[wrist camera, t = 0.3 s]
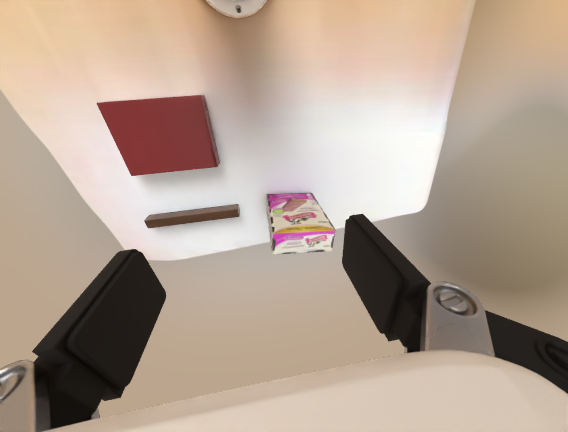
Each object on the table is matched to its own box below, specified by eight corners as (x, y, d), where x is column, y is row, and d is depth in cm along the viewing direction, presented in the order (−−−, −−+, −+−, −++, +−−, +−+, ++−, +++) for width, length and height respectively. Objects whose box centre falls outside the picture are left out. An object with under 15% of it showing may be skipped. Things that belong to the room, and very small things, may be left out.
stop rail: (149, 215, 45) (144, 220, 43) (238, 204, 47) (237, 209, 45) (152, 222, 46) (147, 228, 44) (239, 211, 48) (239, 216, 46)
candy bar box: (312, 191, 48) (337, 229, 34) (310, 209, 51) (333, 252, 37) (265, 192, 46) (272, 233, 32) (265, 211, 49) (272, 256, 35)
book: (107, 102, 34) (96, 102, 31) (204, 95, 35) (200, 95, 33) (138, 171, 40) (131, 176, 38) (219, 162, 42) (217, 166, 39)
